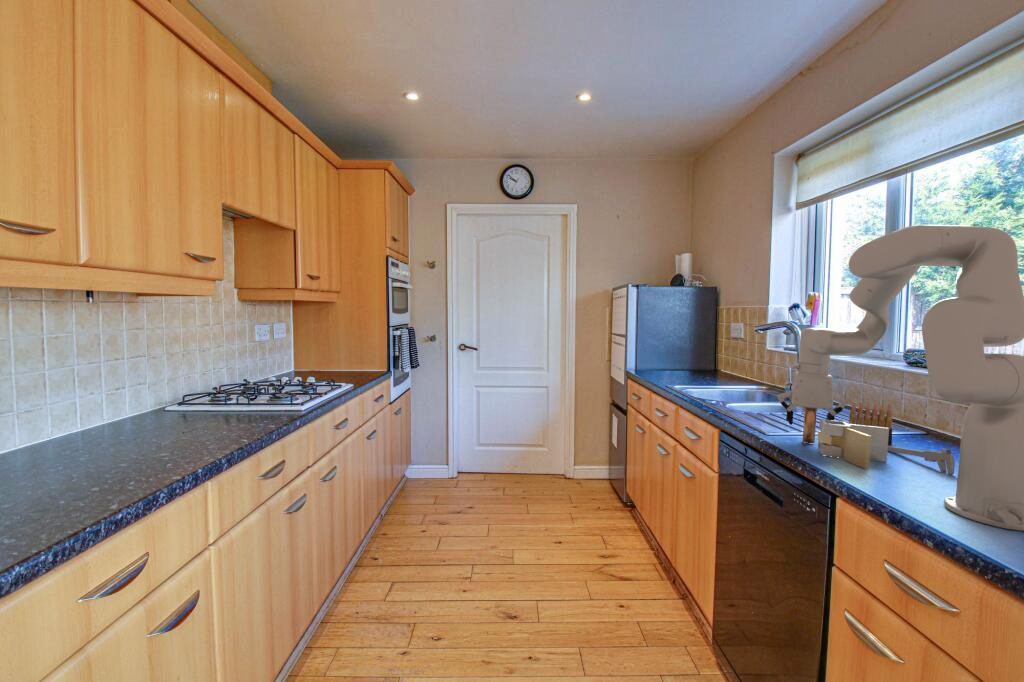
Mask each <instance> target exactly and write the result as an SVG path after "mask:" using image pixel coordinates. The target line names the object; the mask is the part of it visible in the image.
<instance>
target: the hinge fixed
mask: <svg viewBox="0 0 1024 682" xmlns="http://www.w3.org/2000/svg"><path fill="white" fill-rule="evenodd" d="M846 428H850V429H853V430H856V431H859V432H862V433H864V434H867V435H870V436H871V447H870V460H869V461H876V462H881V463H887V461H888V458H887V457H888V451H887V448H888V446H889V445H888V436H889V428H885V427H875V426H866V425H856V424H849V423H848V422H846V421H844V420H835V419H834V420H827V419H826V418H825V419H823V418H820V419H819V428H818V429H819V432H822V433H823V434H824V435H832V436H841V437H845V431H846ZM817 441H818V443H817V451H818V450H819V451H820V452H819V451H818V452H819V454H820V453H821V454H822V455H826V456H832V457H831V458H833V457H839V458H838V459H841V458H843V457H844V448H843V447H840V446H831V445H828V444H826V443H824V442H821V441H819V440H818V439H817ZM821 454H820V455H821ZM822 455H821V456H822ZM826 456H825V457H826Z"/></svg>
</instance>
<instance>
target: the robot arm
mask: <svg viewBox="0 0 1024 682" xmlns="http://www.w3.org/2000/svg"><path fill="white" fill-rule="evenodd" d="M1018 259H1019V258H1018V248H1017V245H1016V242H1015V239H1014V238H1013V237H1012V236H1011V235H1010V234H1009V233H1007V232H1006V231H1005V230H1003V229H999V228H997V227H989V226H979V225H976V226H975V225H953V224H951V225H949V224H947V225H946V224H940V225H939V224H915V225H914V224H913V225H910V226H909V225H908V226H906V227H902V228H899V229H897V230H894V231H892V232H889V233H887V234H885V235H882V236H878V237H876V238H874V239H872V240H868V241H867V242H865V243H863V244H861V245H860V246H858V247H857V248H856V249H855V250H854V251H853V253H851V255H850V257H849V260H848V269H849V271H850V273H851V274H852V275H853V276H854V277H857V278H859V280H858V282H857V283H856V284H855V286H854V287H853V289H851V291H850V293H849V299H850V301H851V303H853V304H854V305H855V306H856V307H858V308H859V309H861V310H863V311H865V315H864V317H863V319H862V320H861V322H860V323H859V324H858V325H857V326H856V327H855V328H823V327H822V328H821V327H820V328H819V327H806V328H803V329H802V330H801V332H800V342H799V351H798V352H799V353H798V356H799V357H798V362H797V363H796V364H795V363H794V364H792V369H794V370H797V372H795V373H794V376H793V380H792V383H791V384H792V386H791V389H790V390H788V391H786V392H782V393H780V394H777V395H776V396H777V399H778V401H779V403H780V405H781V406H782V407H784V408H785V410H786V416H785V417H786V418H785V419H786V421H787V422H788V424H789V425H793V423H794V411H793V410H794V409H795V408H796V407H800V408H805V407H806V408H816V409H817V410H818V409H819V410H826V411H828V413H827V414H826V420H834V421H835V418H836V416H837V415H838V414H839V413H841V412H843V410H844V408H845V407H846V406H847V405H848V402H847V401H846V400H845V399H843V398H840V397H839V396H837V395H836V394H835V393H834V379H833V375H831V374H829V373H830V365H831V364H830V362H831V356H835V357H836V356H838V357H839V356H851V357H852V356H853V357H854V356H855V357H856V356H861V355H862V356H863V355H866V354H868V353H869V352H871V351H872V349H874V347H876V346H877V344H878V343H879V342H880V341H881V340H882V338H884V336H885V334H886V333H887V330H888V326H889V312H888V307H890V305H891V304H893V302H894V300H895V299H896V298H897V296H898V295H899V294H900V293H901V292H902V290H903V289H904V288H905V286H906V285H907V284H908V283H909V282H910V280H911V279H912V278H913V277H914V275H916V273H917V272H918V270H919V269H920V268H921V266H923V267H961V268H959V270H958V273H957V275H956V279H955V288H956V294H957V297H948V298H945V299H942V300H938V301H937V302H935V303H934V304H932V305H931V307H929V309H928V310H927V311H926V312H925V314H924V317H923V319H922V323H921V334H922V335H921V336H922V341H923V342H922V343H923V349H924V354H925V355H924V356H925V361H926V369H927V373H928V379H929V382H930V384H931V387H932V388H933V390H934V391H935V393H936V394H937V395H938V396H939V397H940V398H942V399H943V400H946V401H948V402H950V403H951V402H952V403H956V404H961V405H963V404H964V405H969V407H968V408H967V409H966V412H965V415H964V418H963V420H962V430H961V437H960V447H959V456H958V457H959V459H958V468H957V469H958V470H957V478H956V479H957V481H956V491H955V495H951V496H946V497H945V498H944V500H943V503H944V504H943V505H944V506H945V507H946V508H947V509H948V510H949V511H951V512H953V513H955V514H957V515H959V516H961V517H964V518H967V519H969V520H972V521H975V522H978V523H981V524H986V525H988V526H991V527H992V526H993V527H996V528H1002V529H1007V530H1011V531H1012V530H1013V531H1020V532H1021V531H1022V532H1024V355H1020V354H1015V353H985V348H994V347H995V348H998V347H1001V348H1002V347H1007V346H1013V345H1016V344H1018V343H1020V342H1022V341H1023V340H1024V291H1023V285H1022V281H1021V278H1020V274H1019V273H1020V272H1019V262H1018ZM789 397H790V402H789V403H786V401H785V398H789ZM835 401H836V402H837V403H838V405H837V406H836V407H834V402H835ZM833 407H834V408H833Z"/></svg>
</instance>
